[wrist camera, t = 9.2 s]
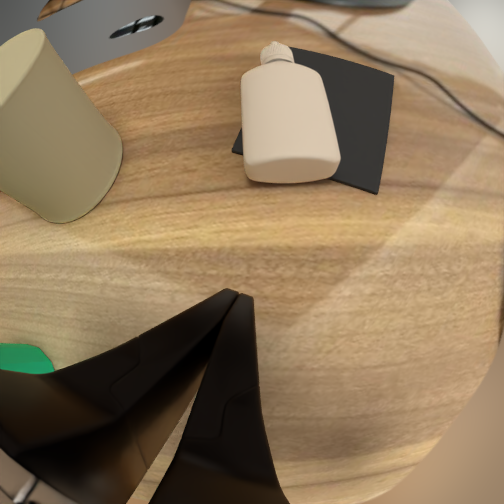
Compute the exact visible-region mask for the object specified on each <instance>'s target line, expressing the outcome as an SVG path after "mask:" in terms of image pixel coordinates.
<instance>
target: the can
mask: <svg viewBox="0 0 504 504" xmlns="http://www.w3.org/2000/svg"><path fill="white" fill-rule="evenodd" d="M121 160H122V142H121V138H120V136H119V134H118V132H117V131H116V129H115V128H114V127H113V126H112V125H110V124H109V123H108V122H107V121H106V119H105V118H104V117H103V116H102V114H101V113H100V112H99V111H98V109H97V108H96V107H95V105H94V104H93V103H92V101H91V100H90V99H89V97H88V96H87V95H86V93H85V92H84V91H83V89H82V88H81V87H80V85H79V84H78V82H77V81H76V80H75V78H74V77H73V76H72V74H71V73H70V71H69V70H68V69H67V67H66V66H65V64H64V63H63V61H62V60H61V58H60V57H59V56H58V54H57V53H56V52H55V50H54V48H53V47H52V45H51V44H50V42H49V40H48V39H47V37H46V34H45V33H44V31H42V30H41V29H31V30H27V31H25V32H23V33H21V34H19V35H17V36H15V37H13V38H12V39H10V40H9V41H7V42H6V43H5V44H3V45H2V46H0V191H2V192H3V193H5V194H7V195H8V196H10V197H12V198H13V199H15V200H17V201H18V202H20V203H22V204H23V205H25V206H27V207H28V208H30V209H32V210H33V211H35V212H36V213H38V214H39V215H40V216H41V217H42V218H43V219H45V220H47V221H49V222H52V223H67V222H71V221H73V220H76V219H78V218H80V217H82V216H83V215H85V214H86V213H88V212H89V211H90V210H91V209H93V208H94V207H95V206H96V205H97V204H98V203H99V202H100V201H101V200H102V198H103V197H104V196H105V195H106V193H107V192H108V190H109V189H110V187H111V186H112V184H113V182H114V180H115V178H116V176H117V174H118V171H119V168H120V164H121Z"/></svg>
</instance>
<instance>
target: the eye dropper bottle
mask: <svg viewBox="0 0 504 504" xmlns="http://www.w3.org/2000/svg"><path fill="white" fill-rule="evenodd" d="M260 57H261V66H258V67H255V68H253V69H251V70H249V71H247V72H246V73H245V74H243V76H242V78H241V115H242V138H243V160H244V169H245V173H246V175H247V176H248V178H249V179H251V180H254V181H259V182H267V183H300V182H309V181H315V180H321V179H325V178H328V177H331V176H332V175H333V174H334V173H335V172H336V170H337V168H338V165H339V163H340V159H341V157H340V151H339V147H338V142H337V137H336V133H335V128H334V124H333V120H332V115H331V111H330V107H329V103H328V99H327V96H326V92H325V88H324V85H323V82H322V78H321V76H320V75H319V74H318V73H317V72H316V71H314V70H312V69H310V68H308V67H305V66H303V65H299V64H296V63H294V58H293V54H292V51H291V49H290V48H289V47H288V46H286V45H283V44H279V43H278V42H277V41H273V42H271V43H270V45H268V46H266V47H265V48H264V49H263V50H262V51H261V55H260Z"/></svg>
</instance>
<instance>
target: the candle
mask: <svg viewBox="0 0 504 504" xmlns="http://www.w3.org/2000/svg"><path fill="white" fill-rule="evenodd" d="M0 369H3V370H9V371H16V372H23V373H31V374H44V373H50V372H54V371H55V370H54V368H53V365H52V363H51V361H50V360H49V359H48V357H47V356H46V355H45V354H44V353H43V352H42V351H41V350H40V348H38V347H35V346H31V345H28V344H8V343H0Z"/></svg>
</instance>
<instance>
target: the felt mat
mask: <svg viewBox="0 0 504 504" xmlns="http://www.w3.org/2000/svg"><path fill="white" fill-rule="evenodd" d="M289 48H290V49H291V51H292V54H293V58H294V63H296V64H299V65H303V66H305V67H308V68H310V69H312V70H314V71H316V72H317V73H318V74H319V75H320V76H321V78H322V82H323V85H324V88H325V92H326V96H327V99H328V103H329V107H330V111H331V115H332V120H333V124H334V128H335V133H336V137H337V142H338V147H339V151H340V157H341V159H340V163H339V165H338V168H337V170H336V172H335V173H334V174H333V175H332V176H331V177H328V179H331V180H334V181H337V182H340V183H343V184H346V185H350V186H353V187H356V188H359V189H361V190H364V191H367V192H370V193H373V194H376V195H377V194H378V191H379V185H380V180H381V174H382V168H383V163H384V156H385V150H386V143H387V136H388V129H389V121H390V113H391V105H392V95H393V85H394V75H391V74H388V73H385V72H383V71H380V70H377V69H374V68H371V67H367V66H364V65H361V64H358V63H354V62H351V61H347V60H344V59H340V58H336V57H333V56H329V55H325V54H321V53H316V52H312V51H307V50H303V49H298V48H293V47H289ZM232 152H233V153H237V154H241V155H243V138H242V128H241V130H240V132H239V134H238V137H237V139H236V141H235V143H234V145H233V148H232Z"/></svg>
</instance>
